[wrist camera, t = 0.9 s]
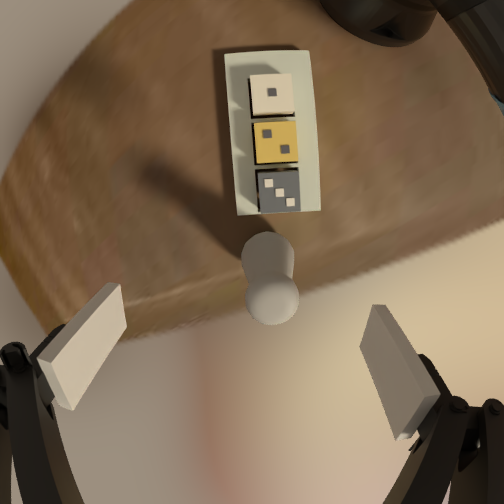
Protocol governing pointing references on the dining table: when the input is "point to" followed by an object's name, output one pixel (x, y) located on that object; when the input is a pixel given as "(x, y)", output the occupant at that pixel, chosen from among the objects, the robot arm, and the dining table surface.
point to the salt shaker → (270, 278)
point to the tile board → (240, 121)
